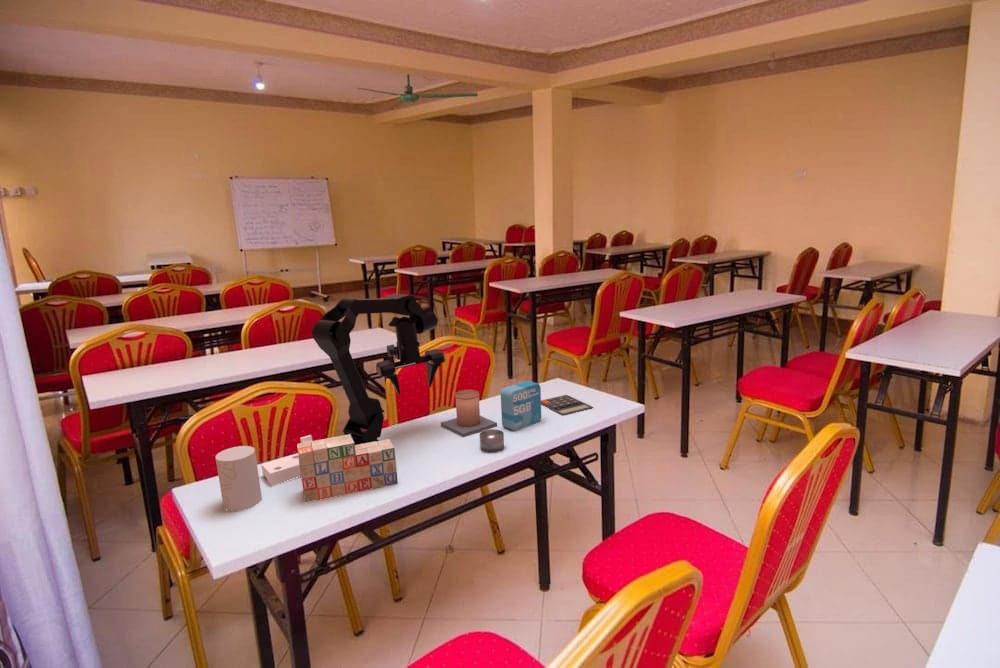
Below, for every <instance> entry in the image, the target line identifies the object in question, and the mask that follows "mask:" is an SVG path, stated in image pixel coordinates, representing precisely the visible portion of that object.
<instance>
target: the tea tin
mask: <svg viewBox="0 0 1000 668" xmlns="http://www.w3.org/2000/svg"><path fill="white" fill-rule="evenodd" d="M504 437H505V435H504V432H503V431H502V430H500V429H492V428H490V429H487V430H484V431H481V432H479V445H480V446H479V447H480V450H481V452H483V453H486V454H487V453H488V454H495V453H499V452H501V451H502V452H503V450H504V449H505V438H504Z"/></svg>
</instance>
